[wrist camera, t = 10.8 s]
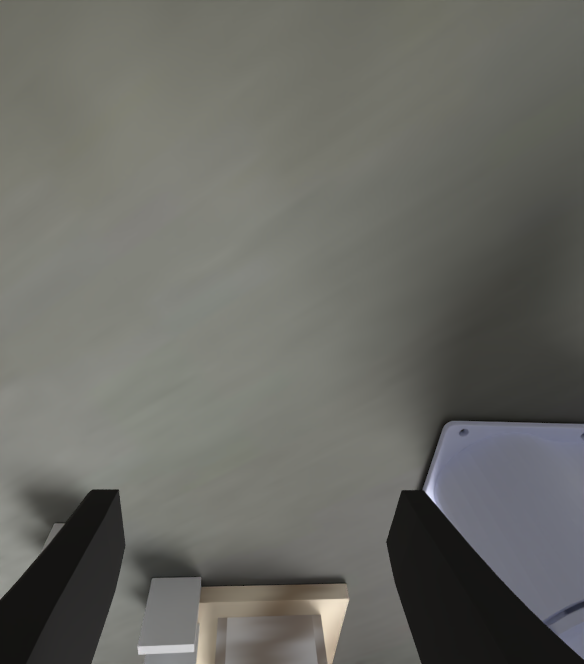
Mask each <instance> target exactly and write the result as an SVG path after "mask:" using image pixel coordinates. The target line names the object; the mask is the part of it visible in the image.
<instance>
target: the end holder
mask: <svg viewBox="0 0 584 664" xmlns="http://www.w3.org/2000/svg"><path fill="white" fill-rule="evenodd" d="M348 602H349V595H348V590H347V585H346V584H303V585H260V586H217V587H201V594H200V602H199V611H198V621H197V623H200V631H199V641H198V651H197V661H196V664H332V662H333V658H334V654H335V650H336V647H337V643H338V639H339V635H340V632H341V628H342V624H343V620H344V617H345V613H346V609H347V605H348Z"/></svg>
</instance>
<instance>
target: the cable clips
mask: <svg viewBox="0 0 584 664" xmlns="http://www.w3.org/2000/svg"><path fill="white" fill-rule="evenodd" d="M64 524H65V523H54V525H53V527H52V529H51V531H50V534H49V536H48V538H47V540H46V542H45V544H44V546H43V548H42V550H41V552H40V554H41V553H42V551H43V550H44V549H45V548H46V547H47V545H48V544H49V543H50V542H51V541H52V539H53V538H54V537H55V536H56V534H57V533H58V532H59V531H60V529H61V528H62V527H63V526H64ZM40 554H39V555H40ZM200 594H201V577H181V578H152V581H151V586H150V590H149V595H148V600H147V604H146V609H145V614H144V619H143V623H142V628H141V633H140V637H139V642H138V655H139V654H146V655H145V660H144V664H196V661H197V651H198V641H199V631H200V623H197V621H198V611H199V602H200Z"/></svg>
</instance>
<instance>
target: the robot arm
mask: <svg viewBox="0 0 584 664" xmlns="http://www.w3.org/2000/svg"><path fill="white" fill-rule="evenodd" d="M462 429H464V430H463V431H461V430H462ZM460 431H461V432H460ZM386 543H387V548H388V553H389V557H390V562H391V567H392V571H393V576H394V580H395V584H396V587H397V591H398V594H399V597H400V600H401V603H402V606H403V609H404V612H405V615H406V618H407V621H408V624H409V627H410V630H411V633H412V636H413V639H414V642H415V645H416V648H417V651H418V654H419V657H420V660H421V663H422V664H584V424H562V423H522V422H483V421H450V422H448V423H447V424H445V425H444V427H443V430H442V433H441V436H440V439H439V442H438V445H437V448H436V451H435V454H434V457H433V460H432V463H431V466H430V469H429V472H428V475H427V478H426V481H425V484H424V487H423V490H402V491H401V495H400V498H399V501H398V505H397V508H396V511H395V515H394V518H393V521H392V525H391V528H390V531H389V535H388V538H387V541H386ZM124 549H125V538H124V529H123V521H122V513H121V504H120V496H119V490H91V491H90V492H89V493H88V494H87V495H86V497H85V498H84V499H83V501H82V502H81V503H80V505H79V506H78V507H77V509H76V510H75V511H74V513H73V514H72V515H71V517H70V518H69V519H68V520H67V522H66V523H65V524H64V526H63V527H62V528H61V529H60V531H59V532H58V533H57V534H56V536H55V537H54V538H53V539H52V541H51V542H50V543H49V544H48V545H47V547H46V548H45V549H44V550H43V551H42V553H41V554H40V555H39V556H38V557H37V559H36V560H35V561H34V562H33V563H32V564H31V566H30V567H29V568H28V569H27V570H26V572H25V573H24V574H23V575H22V576H21V577H20V579H19V580H18V581H17V582H16V583H15V584H14V585H13V586H12V588H11V589H10V590H9V591H8V592H7V593H6V594H5V595H4V596H3V597H2V598H1V600H0V664H91V663H92V660H93V657H94V654H95V651H96V648H97V645H98V642H99V639H100V636H101V633H102V630H103V627H104V624H105V621H106V618H107V615H108V612H109V608H110V605H111V602H112V599H113V596H114V593H115V590H116V585H117V581H118V577H119V572H120V568H121V563H122V559H123V554H124Z"/></svg>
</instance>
